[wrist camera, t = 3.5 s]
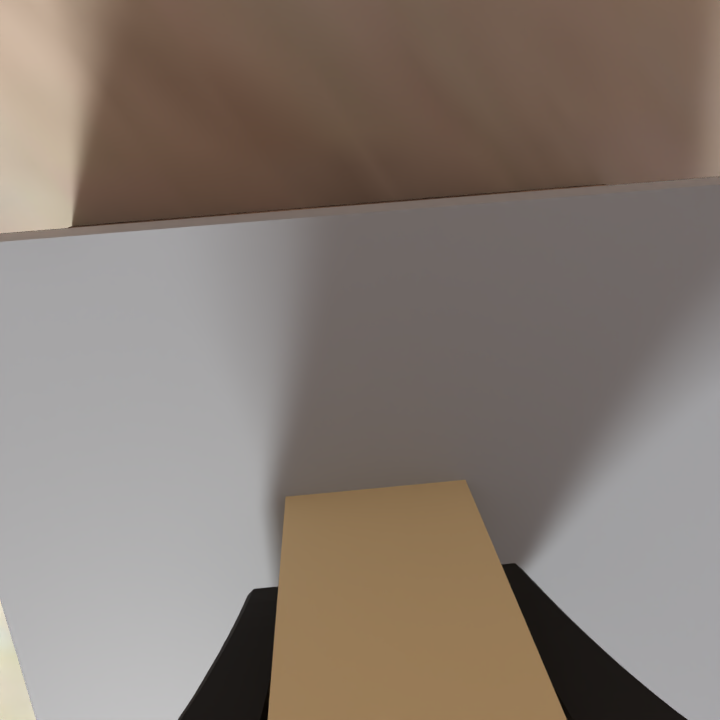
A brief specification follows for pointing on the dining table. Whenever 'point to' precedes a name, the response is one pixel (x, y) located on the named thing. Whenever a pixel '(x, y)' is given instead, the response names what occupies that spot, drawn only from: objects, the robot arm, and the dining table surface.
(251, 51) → the dining table surface
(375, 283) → the lid
